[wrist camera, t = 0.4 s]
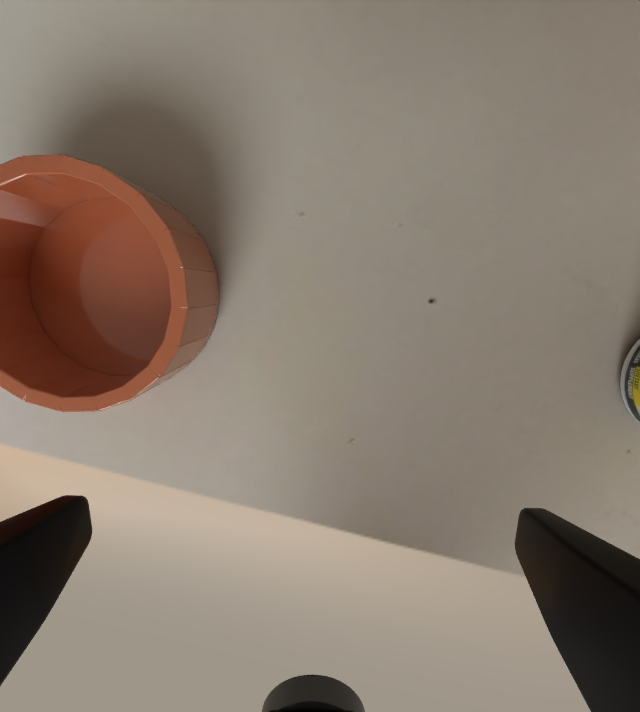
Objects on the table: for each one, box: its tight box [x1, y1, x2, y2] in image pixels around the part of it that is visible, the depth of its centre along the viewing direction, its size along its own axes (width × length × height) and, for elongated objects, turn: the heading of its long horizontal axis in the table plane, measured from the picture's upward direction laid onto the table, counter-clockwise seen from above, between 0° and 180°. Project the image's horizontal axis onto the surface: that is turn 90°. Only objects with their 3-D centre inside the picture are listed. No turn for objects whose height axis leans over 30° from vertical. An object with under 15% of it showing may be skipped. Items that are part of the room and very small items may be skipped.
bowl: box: [0, 155, 219, 412], centre depth 17 cm, size 10×10×4 cm
